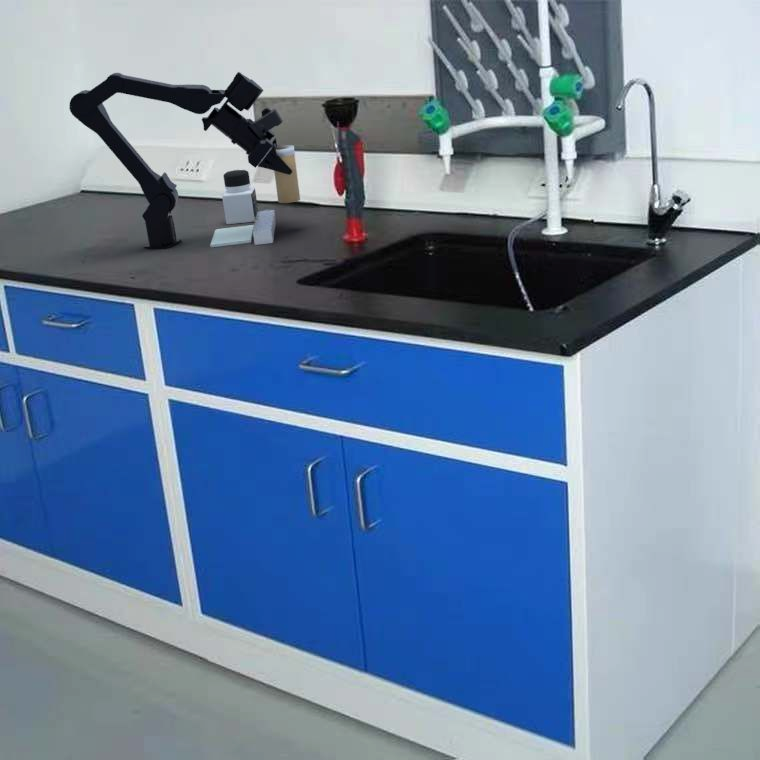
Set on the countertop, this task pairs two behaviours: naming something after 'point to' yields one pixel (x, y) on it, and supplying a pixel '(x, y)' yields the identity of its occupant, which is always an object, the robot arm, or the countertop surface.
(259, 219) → the grey rectangular bar
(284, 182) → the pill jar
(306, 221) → the countertop surface
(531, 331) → the countertop surface
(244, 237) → the pad
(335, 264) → the countertop surface
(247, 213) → the medicine bottle
